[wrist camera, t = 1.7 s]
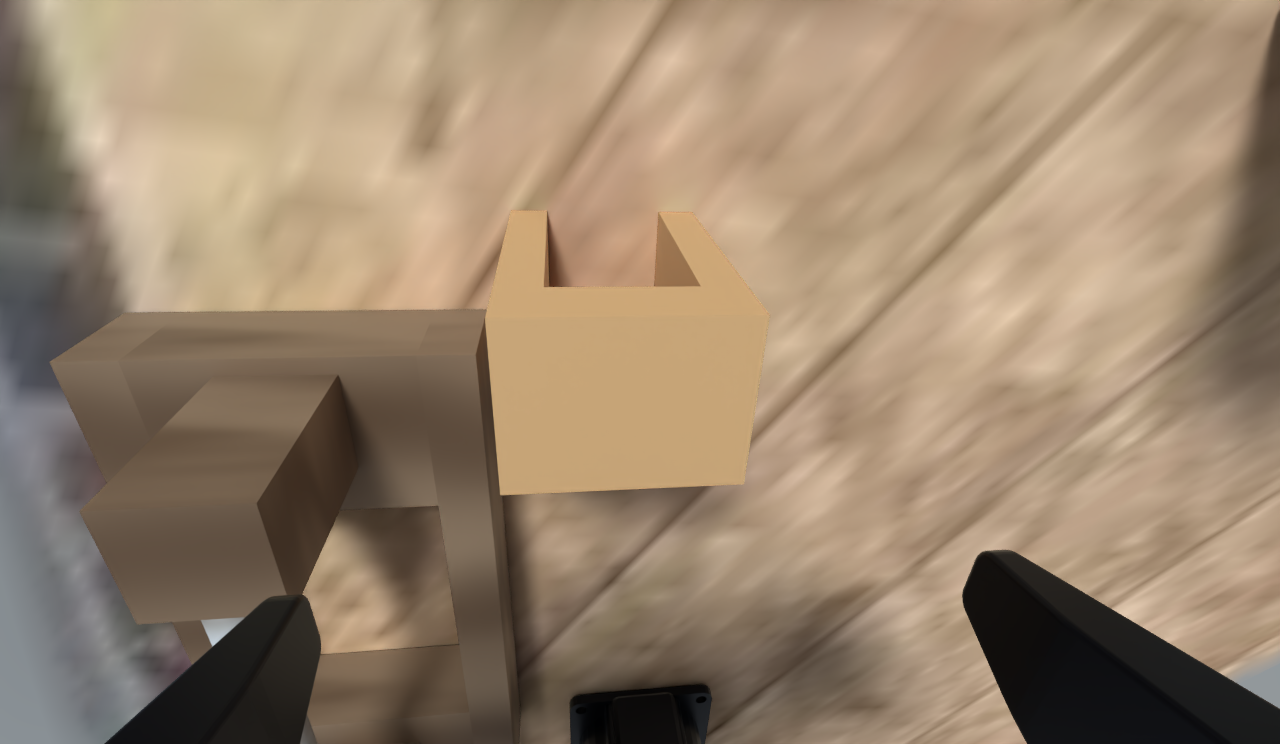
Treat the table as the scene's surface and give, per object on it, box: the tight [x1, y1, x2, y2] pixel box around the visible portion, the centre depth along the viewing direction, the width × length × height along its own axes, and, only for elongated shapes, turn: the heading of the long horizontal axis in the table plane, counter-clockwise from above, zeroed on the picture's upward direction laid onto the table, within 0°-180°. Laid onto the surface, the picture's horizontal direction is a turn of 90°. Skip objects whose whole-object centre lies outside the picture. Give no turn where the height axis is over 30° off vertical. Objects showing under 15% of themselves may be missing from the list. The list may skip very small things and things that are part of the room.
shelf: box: [50, 310, 521, 744], centre depth 19 cm, size 20×10×8 cm, turn 178°
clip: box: [485, 210, 770, 495], centre depth 15 cm, size 4×5×8 cm
